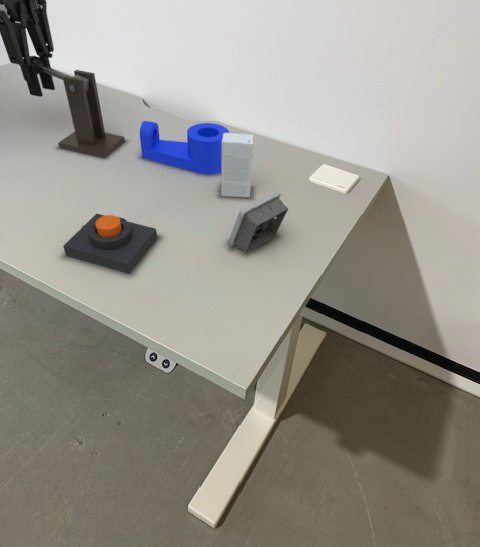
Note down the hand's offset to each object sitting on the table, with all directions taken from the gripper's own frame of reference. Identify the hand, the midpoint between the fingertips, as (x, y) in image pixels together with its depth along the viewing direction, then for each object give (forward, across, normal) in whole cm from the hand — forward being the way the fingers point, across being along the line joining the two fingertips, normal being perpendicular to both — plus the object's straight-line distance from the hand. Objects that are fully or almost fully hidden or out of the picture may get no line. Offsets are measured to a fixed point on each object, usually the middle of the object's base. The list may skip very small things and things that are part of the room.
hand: (42, 91), depth 94 cm
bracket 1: (+11, 0, -10) cm, 15 cm away
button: (+7, -31, -35) cm, 47 cm away
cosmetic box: (+11, -6, -48) cm, 50 cm away
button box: (+11, -31, -34) cm, 48 cm away
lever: (-3, 0, -5) cm, 5 cm away
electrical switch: (+11, -20, -58) cm, 62 cm away
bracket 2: (+11, +2, -34) cm, 35 cm away
